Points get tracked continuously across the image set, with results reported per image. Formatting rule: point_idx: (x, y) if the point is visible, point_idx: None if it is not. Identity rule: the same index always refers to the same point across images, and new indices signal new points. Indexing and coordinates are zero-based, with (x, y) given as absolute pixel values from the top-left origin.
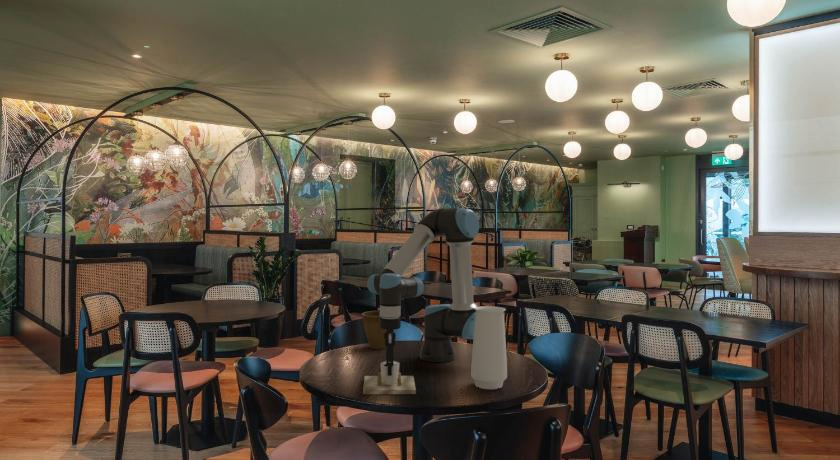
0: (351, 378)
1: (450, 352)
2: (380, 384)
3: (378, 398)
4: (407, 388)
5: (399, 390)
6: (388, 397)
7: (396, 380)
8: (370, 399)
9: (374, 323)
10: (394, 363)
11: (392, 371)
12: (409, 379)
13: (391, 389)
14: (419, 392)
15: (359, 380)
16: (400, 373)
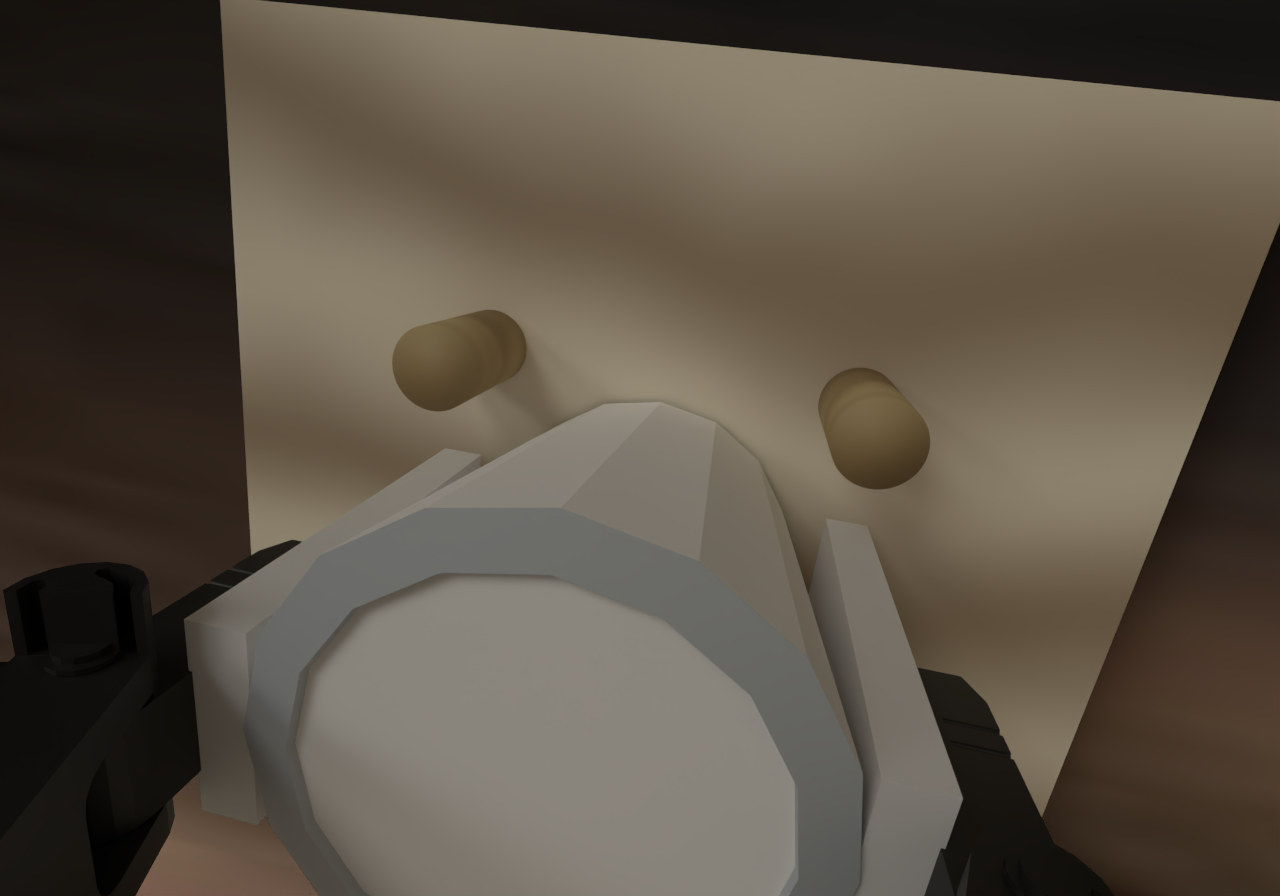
0: (240, 859)
1: None
2: None
3: (1248, 784)
4: (1146, 284)
5: (1177, 458)
6: (1258, 642)
7: (738, 456)
8: (1251, 887)
9: None
10: (614, 691)
11: (912, 701)
12: (479, 127)
13: (1102, 596)
14: (1156, 15)
15: None
16: (464, 339)
